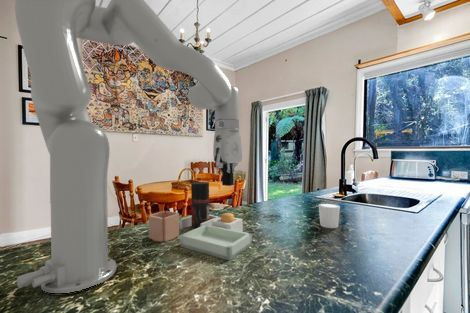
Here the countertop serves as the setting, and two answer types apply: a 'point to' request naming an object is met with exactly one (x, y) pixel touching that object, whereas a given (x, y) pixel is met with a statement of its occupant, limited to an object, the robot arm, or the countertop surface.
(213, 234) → the trough
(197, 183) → the deodorant
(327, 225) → the white tapered cylinder
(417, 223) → the countertop surface
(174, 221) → the cup
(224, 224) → the white recessed tray
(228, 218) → the button
